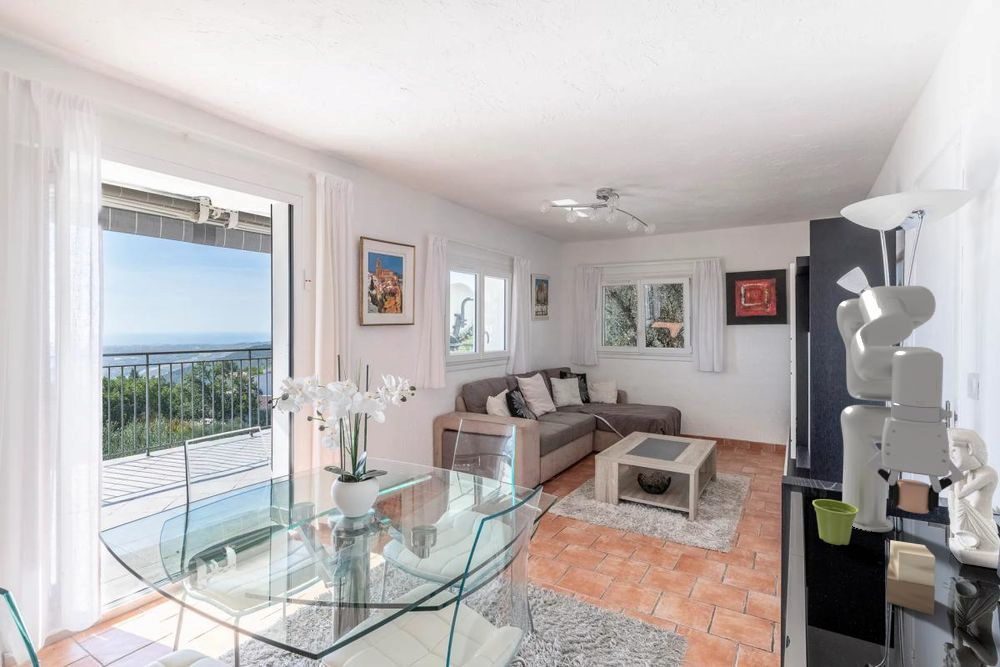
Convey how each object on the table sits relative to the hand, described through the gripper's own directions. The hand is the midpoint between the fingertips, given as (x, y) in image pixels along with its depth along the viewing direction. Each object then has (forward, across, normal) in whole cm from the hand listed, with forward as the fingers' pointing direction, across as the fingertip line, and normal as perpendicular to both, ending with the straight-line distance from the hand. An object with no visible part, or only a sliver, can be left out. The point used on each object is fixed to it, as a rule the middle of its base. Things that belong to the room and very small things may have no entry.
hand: (912, 506), depth 98 cm
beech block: (+14, 0, 0) cm, 14 cm away
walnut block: (+19, 0, 0) cm, 19 cm away
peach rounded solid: (0, 0, 0) cm, 0 cm away
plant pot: (+19, +13, -23) cm, 33 cm away
